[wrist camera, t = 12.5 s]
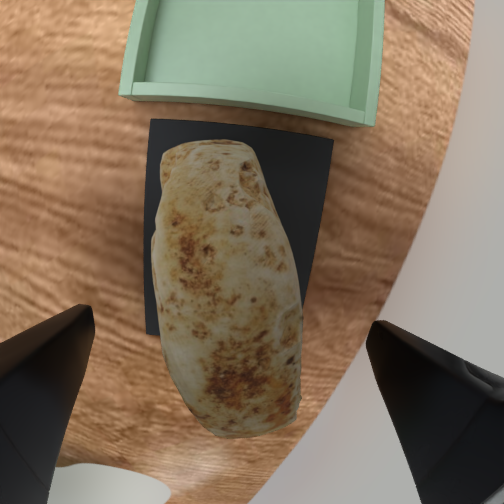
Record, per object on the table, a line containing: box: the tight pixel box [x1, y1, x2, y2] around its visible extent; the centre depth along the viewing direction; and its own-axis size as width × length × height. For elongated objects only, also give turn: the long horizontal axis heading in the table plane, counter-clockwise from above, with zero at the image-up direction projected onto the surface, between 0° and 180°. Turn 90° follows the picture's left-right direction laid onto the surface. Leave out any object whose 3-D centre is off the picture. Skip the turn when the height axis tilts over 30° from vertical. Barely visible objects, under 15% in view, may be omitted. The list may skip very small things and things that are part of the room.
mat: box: [144, 119, 334, 336], centre depth 16 cm, size 9×12×1 cm
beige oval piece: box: [151, 139, 303, 439], centre depth 11 cm, size 10×4×10 cm, turn 9°
